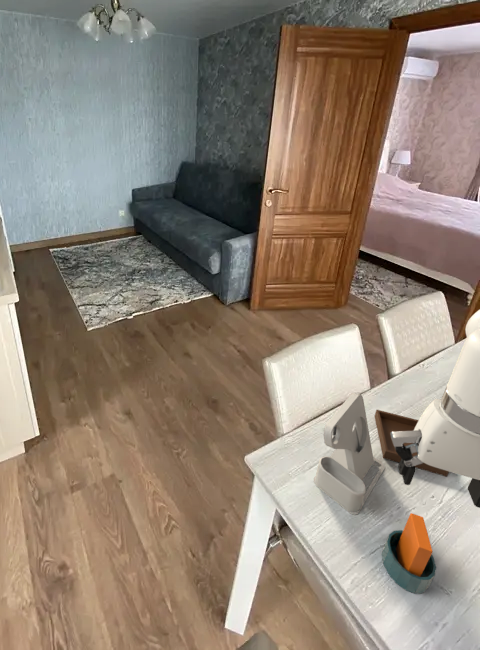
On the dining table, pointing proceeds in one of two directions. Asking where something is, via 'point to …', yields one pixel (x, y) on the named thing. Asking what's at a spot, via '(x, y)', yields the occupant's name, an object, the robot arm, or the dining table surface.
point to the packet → (414, 546)
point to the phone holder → (348, 457)
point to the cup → (401, 574)
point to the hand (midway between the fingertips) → (438, 487)
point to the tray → (385, 427)
